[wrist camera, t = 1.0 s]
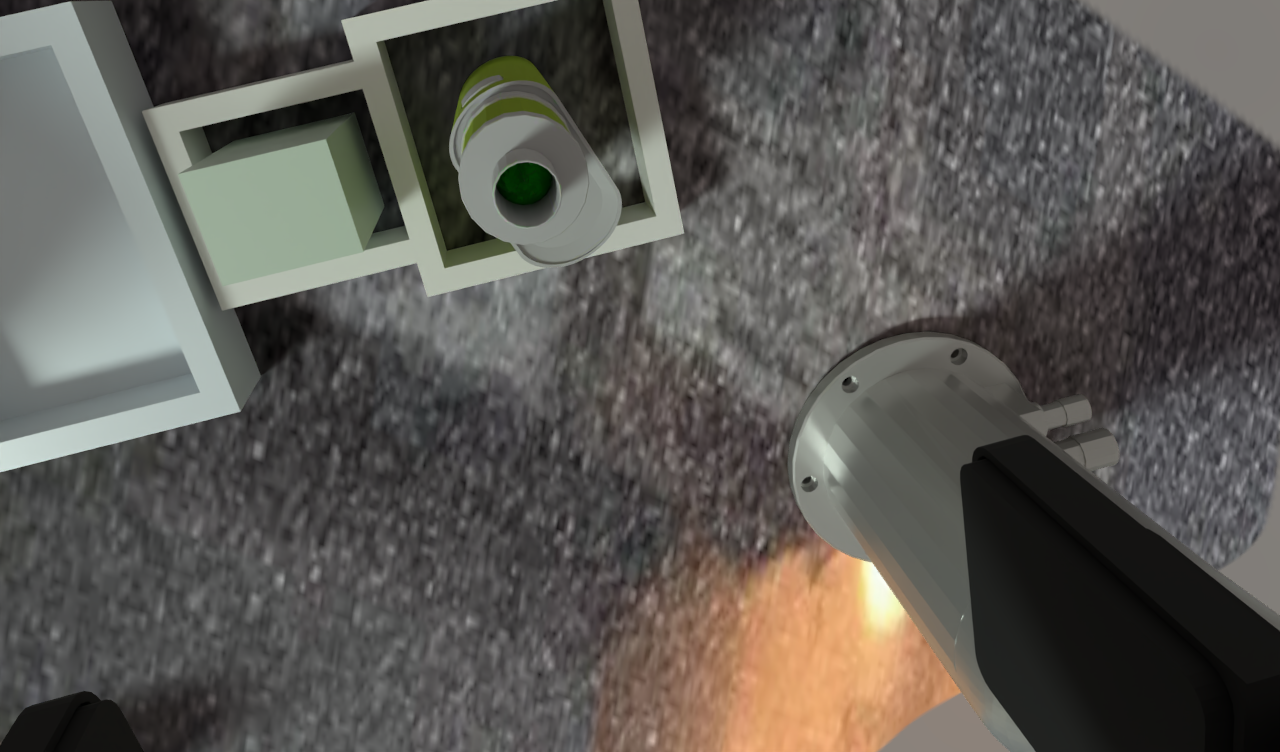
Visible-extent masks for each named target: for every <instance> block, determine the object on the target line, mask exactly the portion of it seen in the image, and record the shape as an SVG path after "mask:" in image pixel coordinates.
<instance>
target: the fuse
mask: <svg viewBox="0 0 1280 752" xmlns="http://www.w3.org/2000/svg"><path fill="white" fill-rule="evenodd" d="M178 176H179V179H180V181H181V184H182V186H183V189H184V191H185V194H186V196H187V199H188V201H189V204H190V206H191V209H192V211H193V214H194V216H195V219H196V221H197V224H198V226H199V229H200V231H201V234H202V236H203V239H204V241H205V244H206V246H207V249H208V251H209V254H210V256H211V259H212V261H213V264H214V266H215V269H216V271H217V274H218V276H219V279H220V281H221V284H222V286H226V285H230V284H234V283H239V282H243V281H247V280H251V279H255V278H259V277H263V276H267V275H271V274H275V273H280V272H284V271H288V270H292V269H296V268H300V267H304V266H308V265H312V264H316V263H321V262H325V261H329V260H333V259H337V258H341V257H345V256H349V255H353V254H357V253H362V252H364V250H365V248H366V246H367V243H368V241H369V239H370V237H371V235H372V233H373V230H374V228H375V226H376V224H377V222H378V220H379V217H380V215H381V213H382V211H383V209H384V203H383V199H382V196H381V193H380V190H379V187H378V184H377V181H376V178H375V174H374V171H373V168H372V165H371V162H370V159H369V156H368V152H367V149H366V146H365V143H364V140H363V137H362V134H361V131H360V127H359V124H358V121H357V118H356V115H355V112H354V113H350V114H346V115H341V116H337V117H333V118H329V119H324V120H320V121H316V122H312V123H307V124H303V125H299V126H295V127H290V128H286V129H282V130H278V131H273V132H269V133H265V134H261V135H256V136H252V137H248V138H244V139H239V140H235V141H233V142H231V143H230V144H228V145H226V146H224V147H223V148H221V149H219V150H218V151H216V152H214V153H213V154H211V155H209V156H208V157H206V158H204V159H203V160H201V161H199V162H197V163H196V164H194V165H192V166H191V167H189V168H187V169H186V170H184V171H182V172H181V173H179V174H178Z"/></svg>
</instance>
